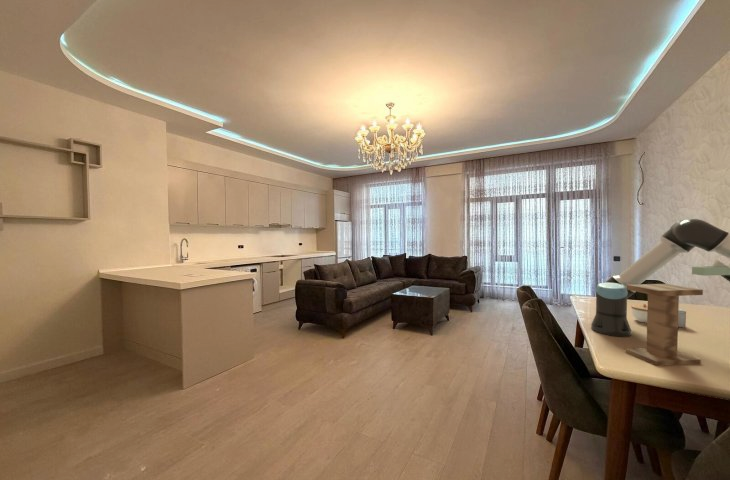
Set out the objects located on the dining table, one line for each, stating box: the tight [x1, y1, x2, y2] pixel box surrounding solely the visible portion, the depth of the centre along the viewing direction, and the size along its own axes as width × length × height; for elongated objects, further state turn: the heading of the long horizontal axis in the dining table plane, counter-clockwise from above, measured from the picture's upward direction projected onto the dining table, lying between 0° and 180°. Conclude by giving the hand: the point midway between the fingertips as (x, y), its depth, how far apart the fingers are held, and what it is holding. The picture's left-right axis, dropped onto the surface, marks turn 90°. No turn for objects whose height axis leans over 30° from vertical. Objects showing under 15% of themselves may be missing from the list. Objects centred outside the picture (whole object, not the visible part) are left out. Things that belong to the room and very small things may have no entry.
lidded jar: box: [631, 303, 648, 324], centre depth 160 cm, size 11×11×9 cm
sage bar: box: [691, 265, 730, 277], centre depth 115 cm, size 19×4×3 cm, turn 95°
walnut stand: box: [625, 283, 704, 367], centre depth 114 cm, size 18×12×28 cm, turn 95°
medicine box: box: [678, 308, 687, 328], centre depth 152 cm, size 8×4×9 cm, turn 58°
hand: (722, 263), depth 115 cm, fingers closed on sage bar, 4 cm apart
